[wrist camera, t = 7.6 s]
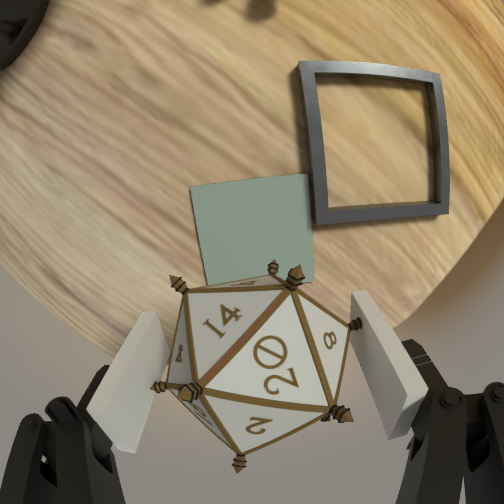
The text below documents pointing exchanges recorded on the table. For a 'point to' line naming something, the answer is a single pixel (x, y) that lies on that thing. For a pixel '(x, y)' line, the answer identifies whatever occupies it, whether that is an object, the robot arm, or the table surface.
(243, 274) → the pad
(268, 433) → the game die
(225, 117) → the table surface
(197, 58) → the table surface
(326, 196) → the socket frame
